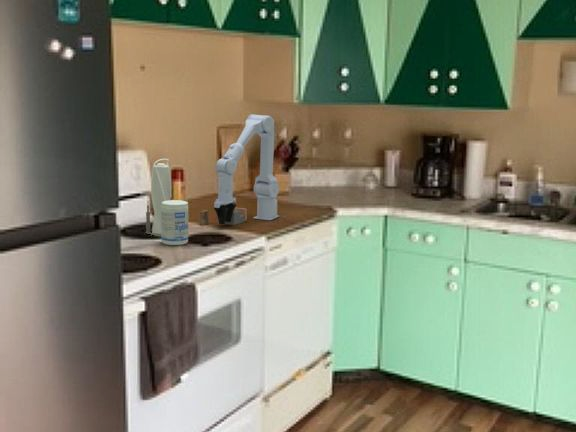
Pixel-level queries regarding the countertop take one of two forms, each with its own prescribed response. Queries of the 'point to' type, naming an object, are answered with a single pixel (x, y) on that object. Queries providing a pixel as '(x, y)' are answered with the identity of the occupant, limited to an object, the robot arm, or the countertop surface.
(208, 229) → the countertop surface
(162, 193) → the skyscraper
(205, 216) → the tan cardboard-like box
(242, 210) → the door
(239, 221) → the block
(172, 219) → the supplement tub
